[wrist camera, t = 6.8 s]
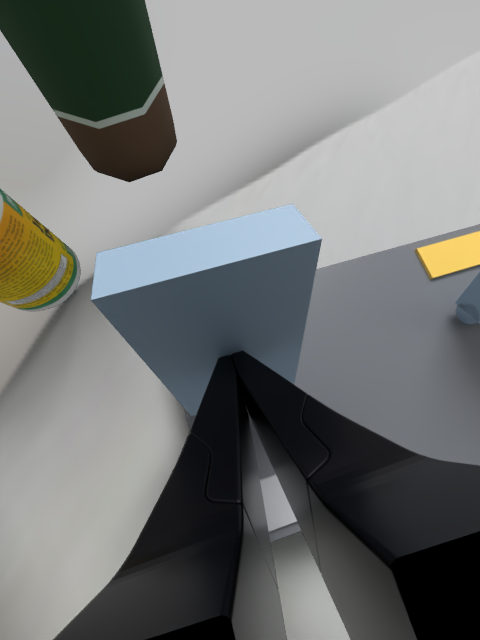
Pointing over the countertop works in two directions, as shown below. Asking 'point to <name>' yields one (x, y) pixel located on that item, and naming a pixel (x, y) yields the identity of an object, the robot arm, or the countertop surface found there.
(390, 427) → the switch panel
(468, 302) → the upright blue panel
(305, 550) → the countertop surface
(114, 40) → the beer bottle
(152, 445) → the countertop surface
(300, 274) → the panel
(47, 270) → the supplement bottle
